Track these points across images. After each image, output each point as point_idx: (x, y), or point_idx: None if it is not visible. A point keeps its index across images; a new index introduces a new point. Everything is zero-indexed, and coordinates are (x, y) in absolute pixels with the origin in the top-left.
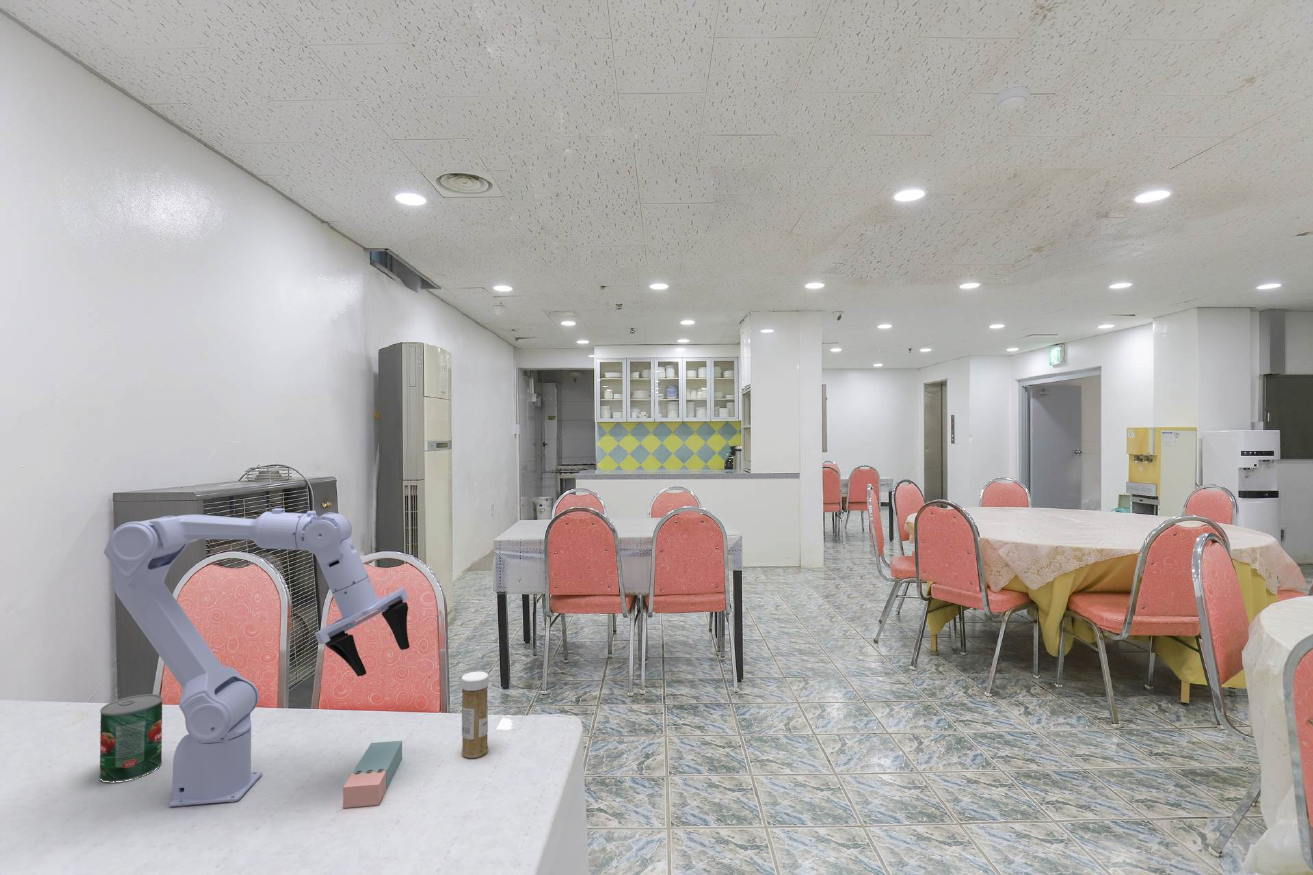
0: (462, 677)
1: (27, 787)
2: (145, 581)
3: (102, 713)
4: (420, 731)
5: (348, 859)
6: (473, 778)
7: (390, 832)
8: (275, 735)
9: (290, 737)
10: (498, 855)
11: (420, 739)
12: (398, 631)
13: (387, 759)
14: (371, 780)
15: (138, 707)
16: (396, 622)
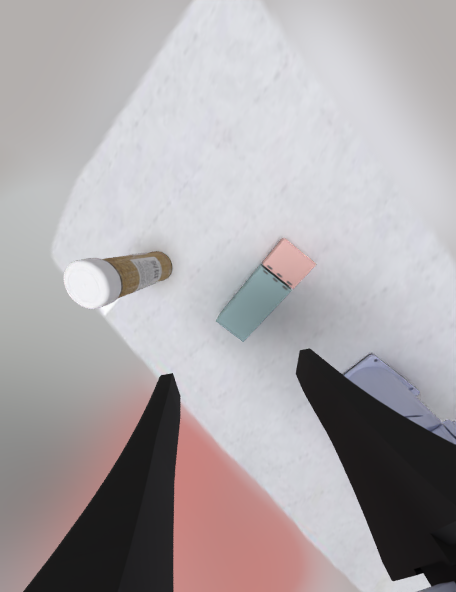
0: (106, 296)
1: None
2: None
3: None
4: (181, 351)
5: (357, 153)
6: (184, 214)
7: (300, 172)
8: (286, 444)
9: (278, 431)
10: (241, 15)
11: (189, 336)
12: (163, 449)
13: (248, 290)
14: (286, 254)
15: None
16: (151, 502)
